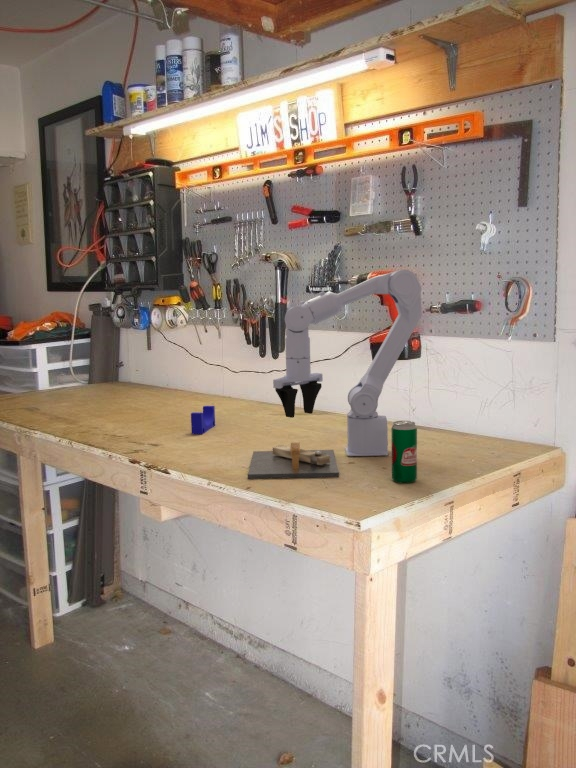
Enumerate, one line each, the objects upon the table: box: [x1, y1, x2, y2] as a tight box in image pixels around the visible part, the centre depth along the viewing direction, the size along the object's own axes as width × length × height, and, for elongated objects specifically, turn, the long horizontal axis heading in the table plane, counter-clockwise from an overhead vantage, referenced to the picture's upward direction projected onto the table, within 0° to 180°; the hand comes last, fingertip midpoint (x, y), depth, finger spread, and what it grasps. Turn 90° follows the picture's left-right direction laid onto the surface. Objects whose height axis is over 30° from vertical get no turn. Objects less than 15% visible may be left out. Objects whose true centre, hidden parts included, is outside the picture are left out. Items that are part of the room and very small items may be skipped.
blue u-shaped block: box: [190, 405, 216, 435], centre depth 193 cm, size 12×4×6 cm, turn 169°
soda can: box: [391, 420, 418, 484], centre depth 138 cm, size 5×5×12 cm
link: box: [272, 444, 330, 465], centre depth 153 cm, size 15×4×2 cm, turn 44°
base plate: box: [247, 442, 340, 480], centre depth 152 cm, size 19×20×6 cm
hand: (299, 415), depth 161 cm, fingers open, 6 cm apart
